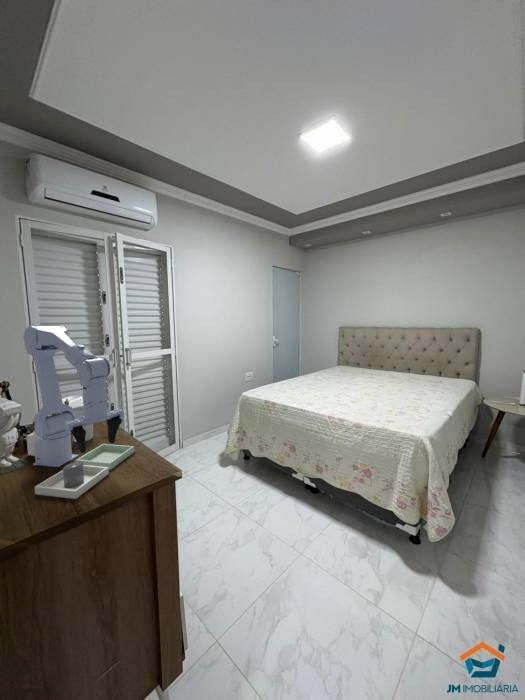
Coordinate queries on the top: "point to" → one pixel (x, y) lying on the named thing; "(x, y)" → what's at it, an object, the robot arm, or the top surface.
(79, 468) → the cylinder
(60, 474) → the bin
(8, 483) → the top surface
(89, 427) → the cup
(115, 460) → the bin
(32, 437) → the medicine bottle
